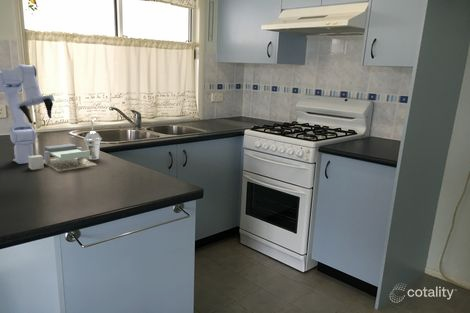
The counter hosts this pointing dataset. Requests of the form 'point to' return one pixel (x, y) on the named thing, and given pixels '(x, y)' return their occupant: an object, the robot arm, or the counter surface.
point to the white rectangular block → (35, 162)
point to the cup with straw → (93, 143)
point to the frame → (66, 162)
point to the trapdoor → (66, 151)
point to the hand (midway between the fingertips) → (40, 119)
